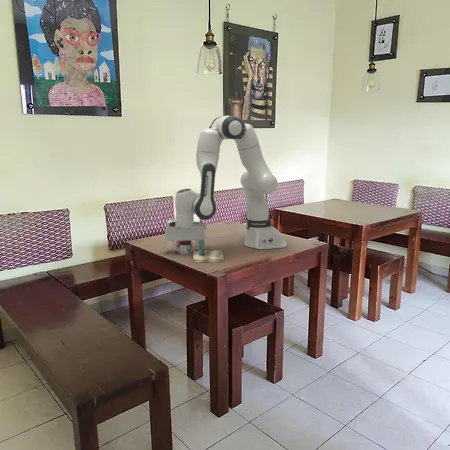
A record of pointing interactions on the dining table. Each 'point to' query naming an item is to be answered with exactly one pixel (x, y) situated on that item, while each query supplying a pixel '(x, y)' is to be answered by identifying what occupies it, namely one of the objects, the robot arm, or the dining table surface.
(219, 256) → the green peg on board
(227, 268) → the dining table surface
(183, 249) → the grey segmented ring
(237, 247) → the dining table surface
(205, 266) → the dining table surface
